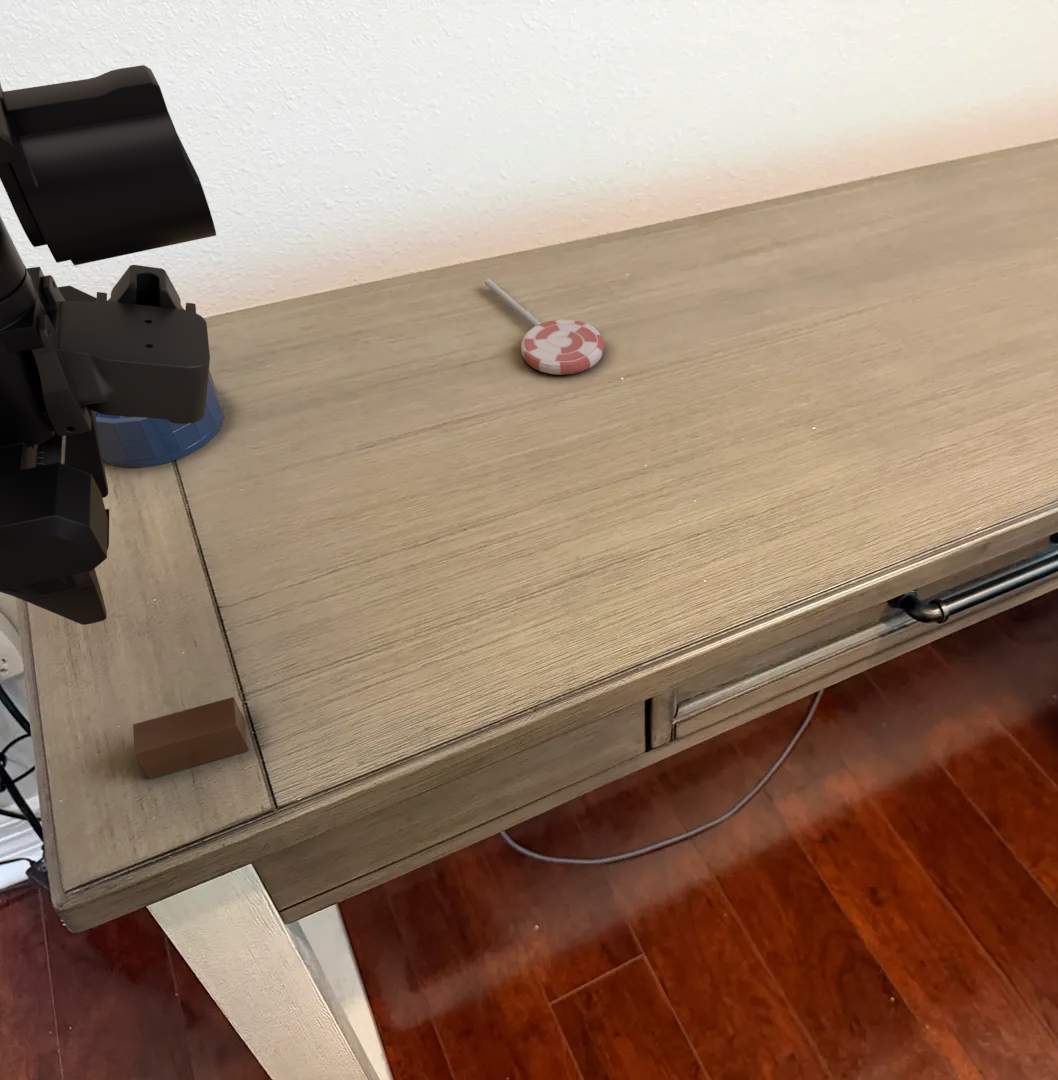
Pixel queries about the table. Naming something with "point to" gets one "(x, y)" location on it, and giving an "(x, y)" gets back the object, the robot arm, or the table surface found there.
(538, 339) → the lollipop
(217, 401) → the bowl
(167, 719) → the tall brown square pillar
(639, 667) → the table surface
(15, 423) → the robot arm
